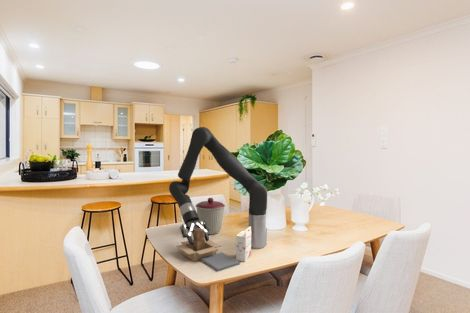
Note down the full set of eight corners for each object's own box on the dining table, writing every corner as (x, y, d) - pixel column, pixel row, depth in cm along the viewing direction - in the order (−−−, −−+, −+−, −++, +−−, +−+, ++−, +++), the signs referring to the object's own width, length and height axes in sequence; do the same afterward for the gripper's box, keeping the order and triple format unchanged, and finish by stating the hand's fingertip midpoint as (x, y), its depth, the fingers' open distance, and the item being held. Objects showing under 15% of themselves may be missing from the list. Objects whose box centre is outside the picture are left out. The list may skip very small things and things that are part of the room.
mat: (221, 254, 134) (221, 252, 134) (239, 264, 123) (239, 262, 123) (200, 260, 126) (200, 257, 126) (217, 271, 115) (217, 269, 115)
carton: (204, 244, 146) (204, 237, 146) (224, 255, 132) (224, 247, 132) (173, 252, 135) (173, 244, 134) (191, 265, 120) (191, 256, 120)
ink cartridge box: (241, 253, 135) (242, 224, 134) (251, 255, 133) (251, 225, 132) (235, 260, 127) (235, 229, 126) (245, 262, 125) (246, 230, 124)
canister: (188, 233, 163) (189, 198, 162) (205, 225, 179) (206, 194, 178) (214, 239, 155) (215, 202, 154) (230, 230, 171) (230, 197, 170)
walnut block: (200, 251, 136) (200, 227, 135) (204, 254, 133) (204, 230, 132) (193, 253, 133) (193, 229, 133) (197, 256, 130) (197, 231, 130)
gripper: (178, 211, 134) (190, 241, 125) (203, 207, 143) (215, 235, 134) (173, 219, 138) (184, 249, 130) (198, 215, 147) (209, 243, 138)
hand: (200, 242), depth 132 cm, fingers open, 8 cm apart
